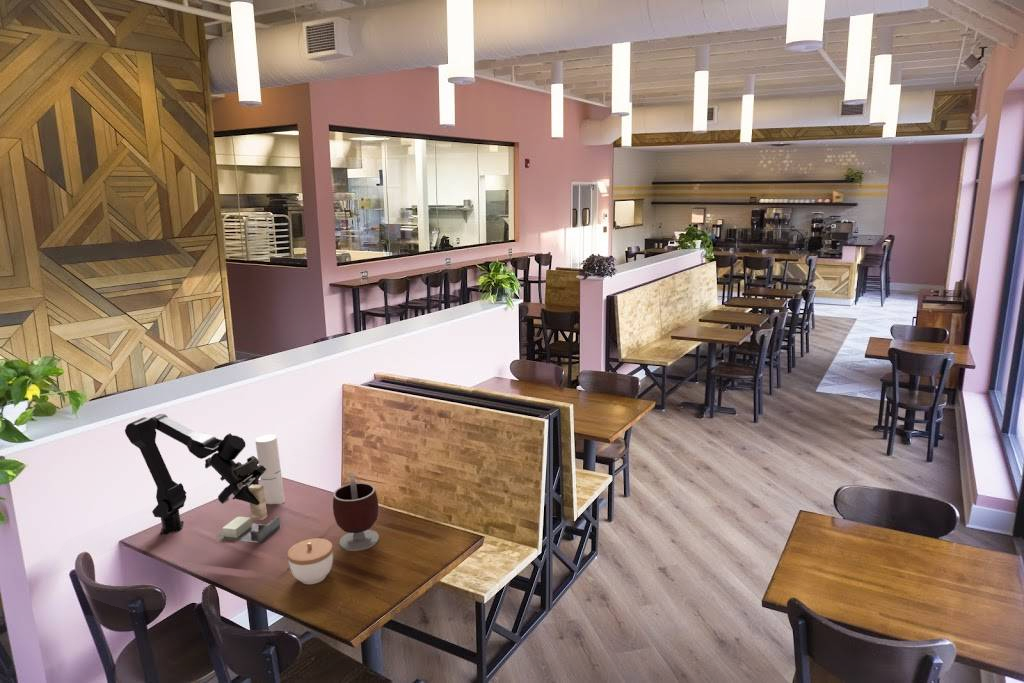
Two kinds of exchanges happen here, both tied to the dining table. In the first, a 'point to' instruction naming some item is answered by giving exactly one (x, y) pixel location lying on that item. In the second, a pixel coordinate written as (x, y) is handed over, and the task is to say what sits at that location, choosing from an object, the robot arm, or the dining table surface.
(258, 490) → the birch board
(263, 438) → the cylindrical container
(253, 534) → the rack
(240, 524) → the offcut upper
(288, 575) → the dining table surface
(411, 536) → the dining table surface
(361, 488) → the mate gourd
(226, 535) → the offcut lower
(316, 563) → the lidded bowl
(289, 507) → the dining table surface
